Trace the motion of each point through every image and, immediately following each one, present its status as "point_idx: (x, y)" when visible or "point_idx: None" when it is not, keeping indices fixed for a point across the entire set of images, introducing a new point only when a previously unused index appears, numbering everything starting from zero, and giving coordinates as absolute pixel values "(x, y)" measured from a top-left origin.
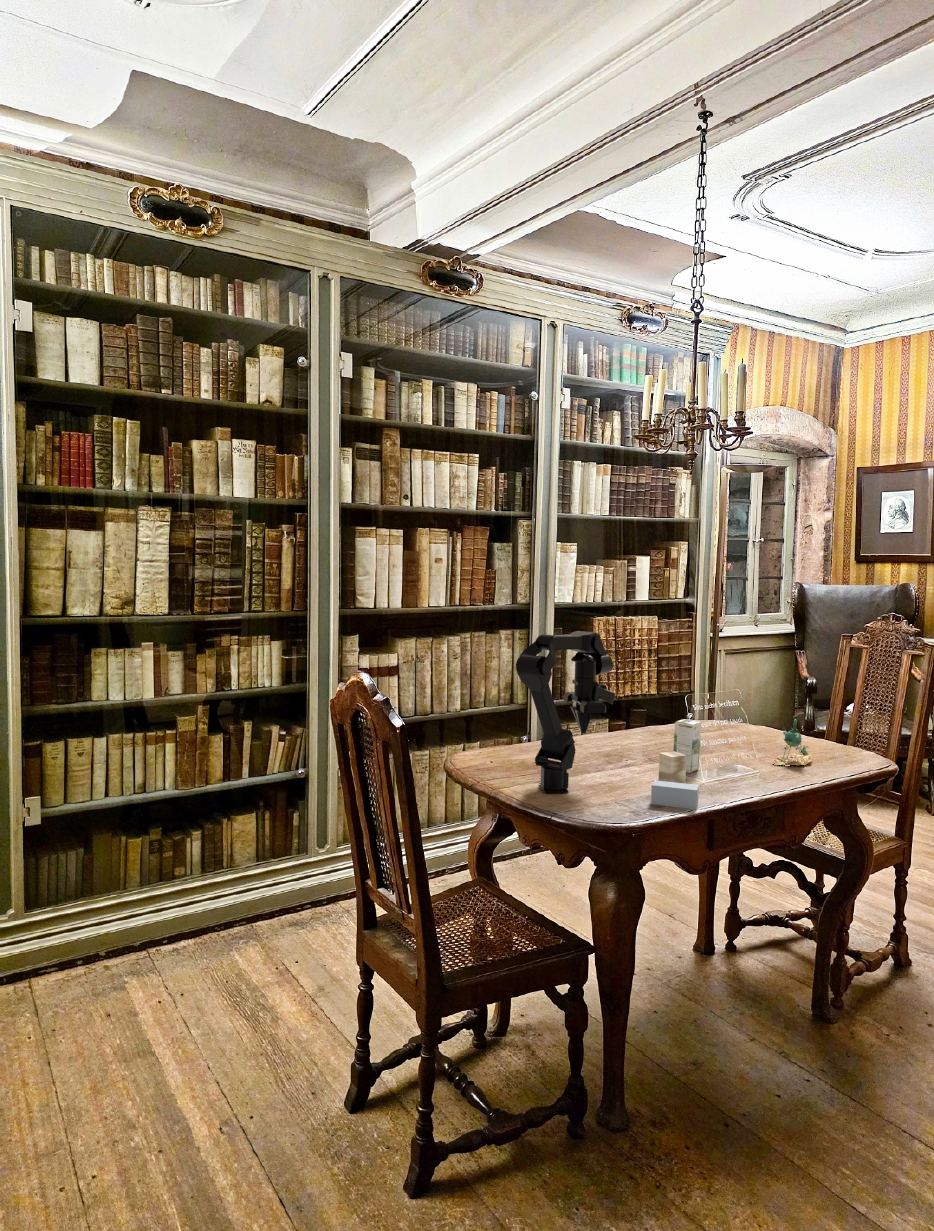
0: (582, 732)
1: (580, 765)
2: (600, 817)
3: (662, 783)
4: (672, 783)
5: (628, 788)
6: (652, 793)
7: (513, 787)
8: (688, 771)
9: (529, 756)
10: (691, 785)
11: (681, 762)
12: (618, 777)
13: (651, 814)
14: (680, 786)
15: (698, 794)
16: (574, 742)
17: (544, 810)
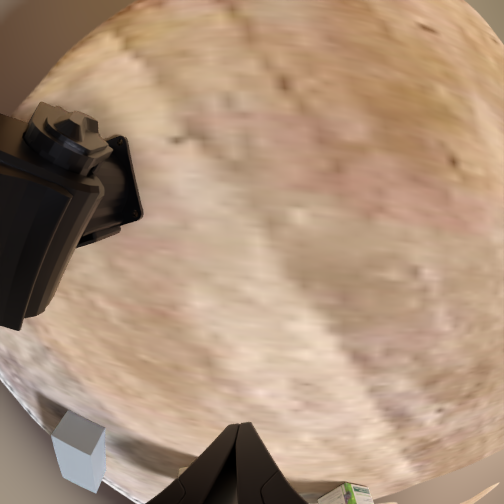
0: (225, 430)
1: (422, 306)
2: None
3: (74, 456)
4: (84, 469)
5: (168, 408)
6: (58, 425)
7: (124, 61)
8: (320, 499)
9: (498, 156)
10: (87, 485)
11: None
12: (283, 403)
13: (16, 384)
14: (70, 470)
15: (100, 481)
16: (16, 325)
17: None
